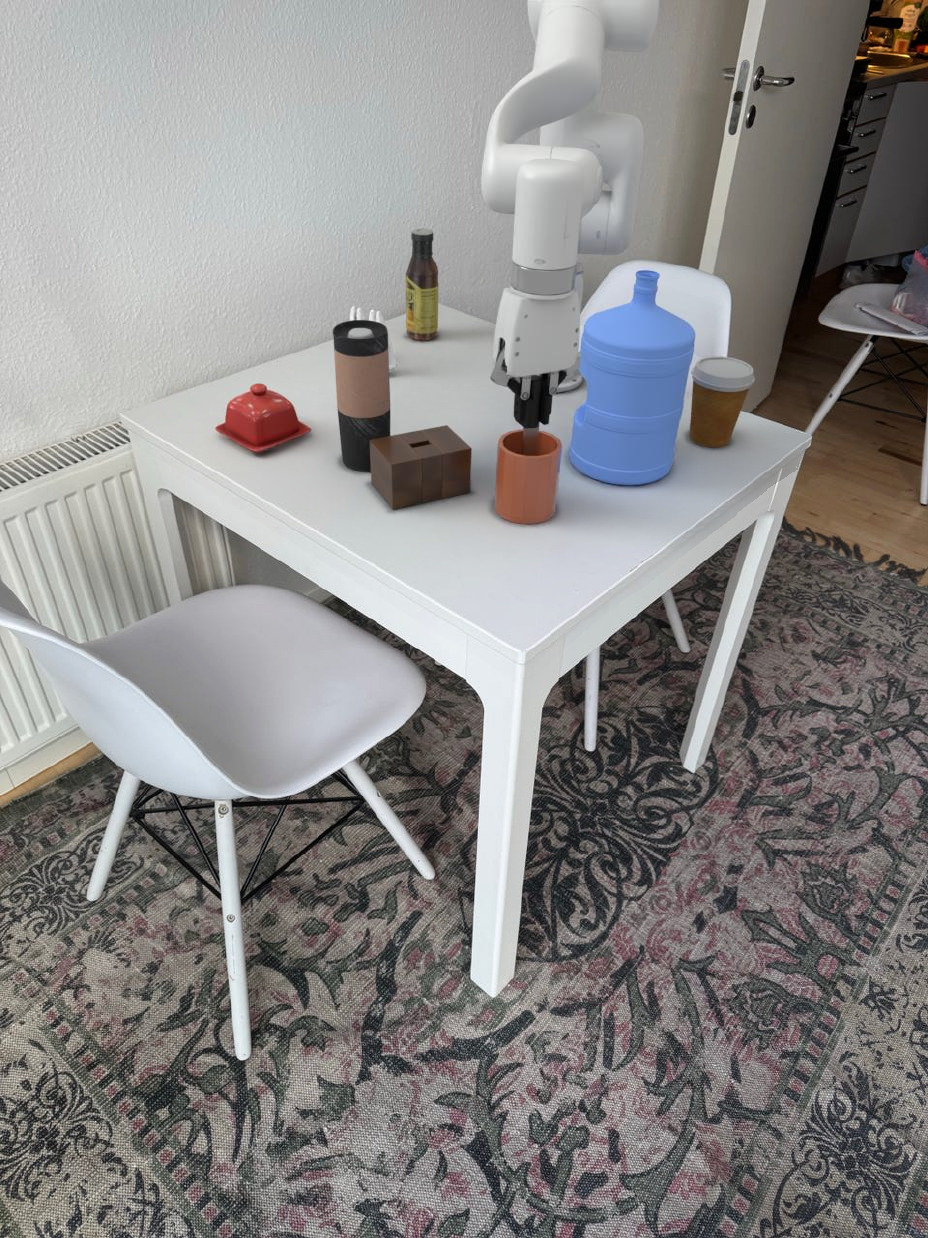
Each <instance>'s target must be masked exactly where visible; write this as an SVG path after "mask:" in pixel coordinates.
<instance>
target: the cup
mask: <svg viewBox="0 0 928 1238" xmlns="http://www.w3.org/2000/svg"><path fill="white" fill-rule="evenodd" d="M522 440H523V428H522V429H521V428H520V429H515V430H510V431H507V432H505V433H503V434H502V435H500V437H499V438H498V439H497V447H496V448H497V449H496V467H495V468H496V469H495V471H496V472H495V486H494V487H495V489H494V511H495V512H496V513H497V515H498V516H499V517H501V518H502V519H503V520H505V521H508V522H511V523H514V524H520V525H536V524H540V523H544V522H547V521H548V520H550V519H551V518H552V517H553V516H554V515H555V513H556V507H557V499H558V491H559V490H558V489H559V481H560V471H561V460H562V451H563V444H562V442H561V439H560V438H558V437H557V436H555V434H552V433H550V432H547V431H545V430H540V429H539V434H538V446H537V456H525V455H521V454H522Z"/></svg>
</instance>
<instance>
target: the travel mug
mask: <svg viewBox="0 0 928 1238" xmlns="http://www.w3.org/2000/svg"><path fill="white" fill-rule="evenodd" d="M388 335H389V331H388V327H387V325H386V326H385V325H383V324H381V323H379V322H375V321H369V319H368V320H367V319H366V320H352V321H350V320H347V321H343V322H340V323H338V324H336V325H335V326H334V327H333V329H332V336H333V353H334V371H335V372H334V373H335V389H336V390H335V391H336V409H337V418H338V428H339V438H340V448H341V450H340V451H341V459H342V463H343V465H344V466H345V467H346V468H348V469H350V470H352V471H355V472H371V463H370V440H372V439H377V438H382V437H387V436H391V385H390V384H391V383H390V373H389V353H388Z"/></svg>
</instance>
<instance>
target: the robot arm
mask: <svg viewBox="0 0 928 1238" xmlns="http://www.w3.org/2000/svg"><path fill="white" fill-rule="evenodd" d="M526 7H527V8H526V9H527V16H528V17H527V19H528V24H529V27H530V31H531V35H532V38H533V42H534V44H535V49H534V57H533V63H532V70H531V71H530V72H529V73H528V74H526V75H525V76H523V77H522V78H521V79H520V80H519V81H518V82H517V83H515V84H514V86H513V87H511V89H509V91H508V92H507V93H506V94H504V96H503V98H502V99H501V100H500V101H499V103H498V104H497V106H496V107H495V109H494V111H493V114H492V115H491V117H490V120H489V124H488V127H487V132H486V138H485V145H484V151H483V158H482V164H481V175H480V189H481V196H482V199H483V202H484V203H485V205H486V206H487V207H488V209H490V210H491V211H493V212H495V213H497V214H504V215H514V217H513V219H514V221H513V236H512V253H511V254H512V255H511V275H510V286H507V287H504V288H503V291H502V295H501V298H500V302H499V306H498V310H497V315H496V320H495V321H496V322H495V329H494V337H493V346H492V347H493V348H492V363H493V365H494V367H493V369H492V372H491V374H490V376H489V377H490V381H492V382H493V383H494V384H496V385H498V386H501V387H504V388H508V389H509V390H510V391H511V392H512V393H513V394H514V399H513V400H514V401H513V418H514V420H515V422H516V423H517V424H519V425H520V426H521V427H524V428H525V429H527V428H530V427H531V420H532V408H533V400H532V399H531V398H530V397H529V395H530V384H531V376H532V375H539V376H541V377H542V378H543V384H542V396H541V408H540V420H539V424H542V425H544V426H547V425H549V424H550V415H551V414H552V406H553V396H554V395H556V394H557V393H562V392H568V391H572V390H574V389H576V388H578V387H579V386H580V385H581V384H582V382H583V376H582V375H581V373H580V370H579V367H580V358H581V353H580V351H579V347H580V345H579V344H580V333H581V331H580V330H581V329H580V328H581V310H582V299H583V291H584V278H583V273H584V265H583V263H582V262H578V255H592V256H620V255H623V254H625V253H626V252H627V251H628V249H629V248H630V246H631V243H632V241H633V236H634V231H635V225H636V217H637V211H638V202H639V201H638V200H639V196H640V195H639V194H640V188H641V180H642V179H641V178H642V171H643V163H644V154H645V153H644V152H645V132H644V131H645V130H644V127H643V124H642V122H641V120H640V119H639V118H638V117H637V116H635V115H634V114H629V113H625V112H610V111H609V112H607V111H601V110H600V100H601V99H600V98H601V97H600V96H601V89H602V88H601V87H602V78H603V77H602V71H603V62H604V51H605V52H607V51H608V52H622V53H643V52H644V51H645V50H647V49H648V47H649V46H650V44H651V43H652V40H653V38H654V36H655V33H656V28H657V24H658V19H659V14H660V13H659V10H660V0H527V6H526ZM536 129H540V131H539V144H525V143H515V142H517V140H519V139H520V138H522V137H523V136H524V135H526V134H527V133H530V132H532V131H534V130H536ZM603 184H607V186H608V187H609V189H610V190H607V189H606V190H605V189H603Z"/></svg>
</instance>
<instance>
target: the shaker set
mask: <svg viewBox="0 0 928 1238" xmlns="http://www.w3.org/2000/svg"><path fill="white" fill-rule="evenodd" d="M364 313H365V312H364V311H363V310H362V308H361V307H357V309H356V306H355V305H353V306H351V307H350V312H349V321H352V320H367V318H366V315H365V314H364ZM368 320H369V321H375V322H379V323H381V324H383V325H385V326H386V327H387V324H386V321H385V318H384V317H383V314H382V312H381V311H380V310H377V311H376V313H375V310H374V309H371V310H370V311H369V314H368ZM390 338H391V337H390V335H389V334H388V353H389V374H390V373H392V372H393V371H395V370H396V369H397V368H398V367H399V365H398V362H397V358H396V354H395V350H394V348H393V344H392V341H391V339H390Z"/></svg>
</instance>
